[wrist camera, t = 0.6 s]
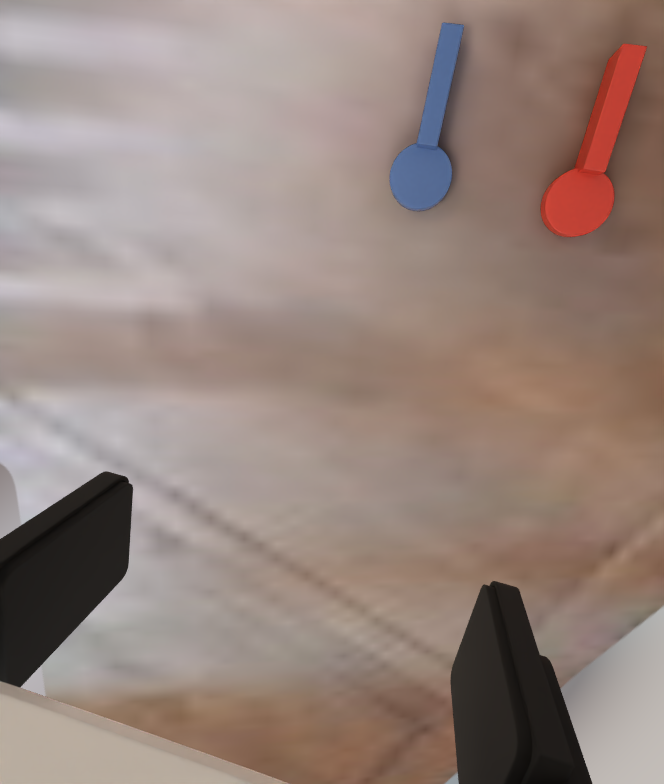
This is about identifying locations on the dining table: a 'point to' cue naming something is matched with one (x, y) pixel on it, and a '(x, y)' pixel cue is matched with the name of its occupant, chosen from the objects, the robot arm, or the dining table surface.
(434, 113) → the blue spoon
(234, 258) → the dining table surface
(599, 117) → the red spoon
